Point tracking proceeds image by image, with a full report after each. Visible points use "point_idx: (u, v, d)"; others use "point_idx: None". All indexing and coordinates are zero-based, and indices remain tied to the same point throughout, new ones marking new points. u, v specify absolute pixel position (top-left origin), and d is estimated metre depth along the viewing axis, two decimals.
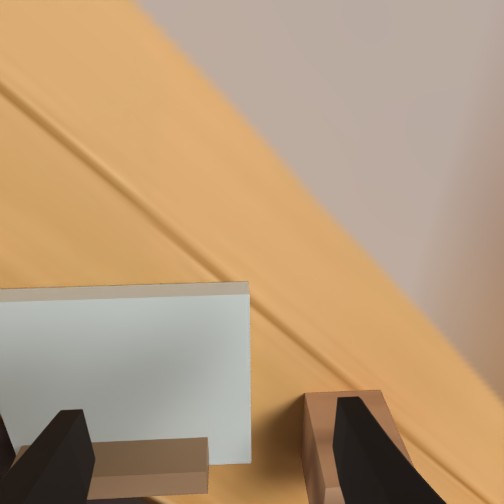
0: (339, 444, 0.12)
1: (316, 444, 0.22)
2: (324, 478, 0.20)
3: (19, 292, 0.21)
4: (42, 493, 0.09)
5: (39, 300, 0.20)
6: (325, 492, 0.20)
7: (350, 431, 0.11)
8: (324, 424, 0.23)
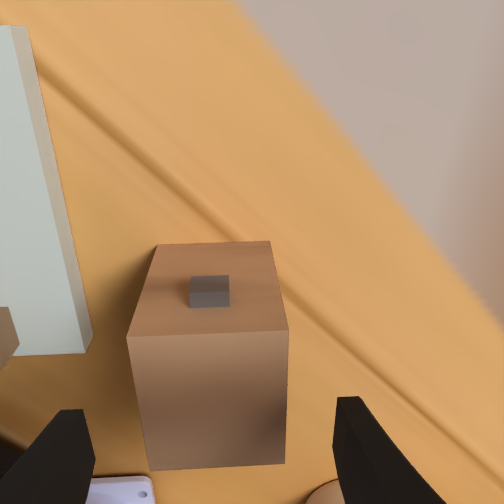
0: (339, 444, 0.12)
1: (142, 292, 0.14)
2: (131, 326, 0.12)
3: None
4: (42, 493, 0.09)
5: None
6: (128, 346, 0.12)
7: (350, 431, 0.11)
8: (167, 272, 0.15)
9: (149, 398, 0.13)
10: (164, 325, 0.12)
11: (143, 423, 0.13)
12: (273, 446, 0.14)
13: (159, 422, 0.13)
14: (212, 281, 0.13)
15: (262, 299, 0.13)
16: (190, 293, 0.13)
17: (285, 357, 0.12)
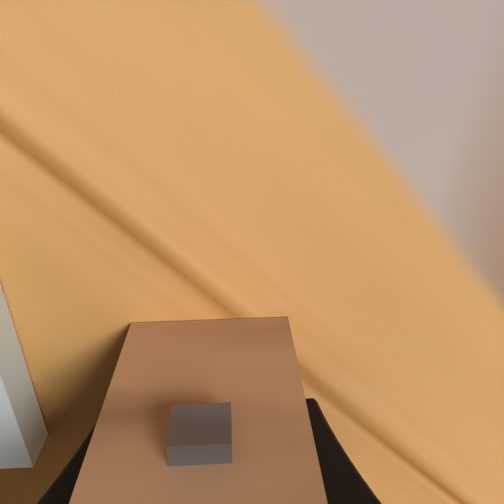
0: None
1: (98, 425, 0.09)
2: None
3: None
4: None
5: None
6: None
7: None
8: (139, 380, 0.10)
9: None
10: None
11: None
12: None
13: None
14: (204, 419, 0.08)
15: (284, 445, 0.09)
16: (168, 447, 0.08)
17: None
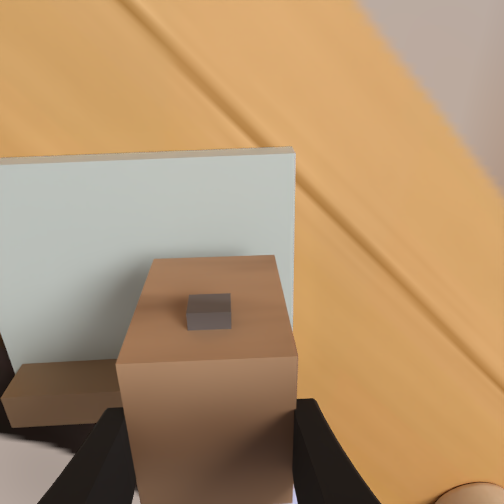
0: (293, 446, 0.12)
1: (135, 312, 0.13)
2: (122, 351, 0.11)
3: (15, 159, 0.17)
4: (100, 490, 0.10)
5: (39, 163, 0.16)
6: (117, 375, 0.11)
7: (299, 434, 0.11)
8: (162, 289, 0.14)
9: (141, 432, 0.11)
10: (158, 350, 0.11)
11: (134, 459, 0.12)
12: (279, 484, 0.13)
13: (153, 458, 0.12)
14: (212, 301, 0.12)
15: (268, 320, 0.12)
16: (188, 314, 0.12)
17: (293, 386, 0.11)
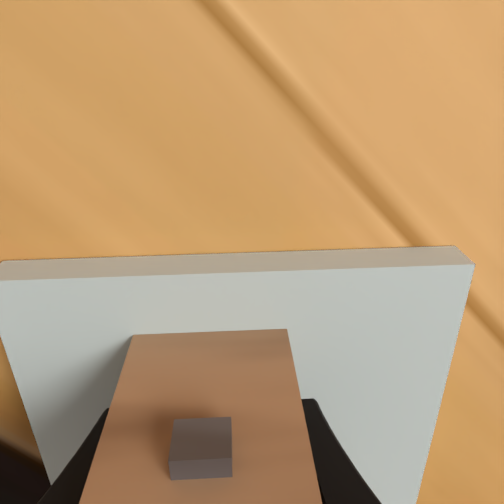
0: None
1: (102, 438, 0.09)
2: None
3: (82, 263, 0.12)
4: None
5: (119, 276, 0.12)
6: None
7: None
8: (141, 393, 0.10)
9: None
10: None
11: None
12: None
13: None
14: (205, 433, 0.09)
15: (283, 459, 0.09)
16: (170, 462, 0.08)
17: None
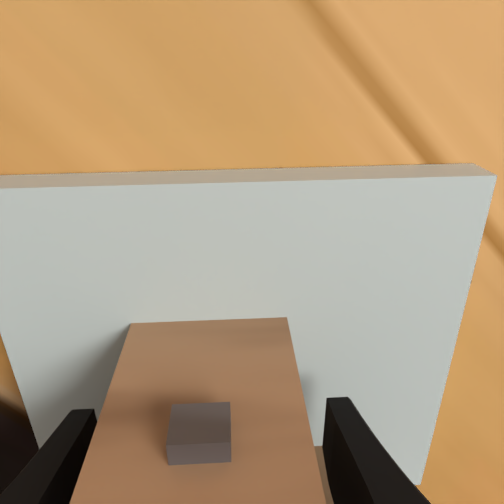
0: (328, 445, 0.12)
1: (98, 424, 0.09)
2: None
3: (64, 177, 0.11)
4: (56, 492, 0.10)
5: (104, 185, 0.11)
6: None
7: (338, 432, 0.11)
8: (139, 380, 0.10)
9: None
10: None
11: None
12: None
13: None
14: (204, 418, 0.09)
15: (282, 444, 0.09)
16: (168, 446, 0.08)
17: None
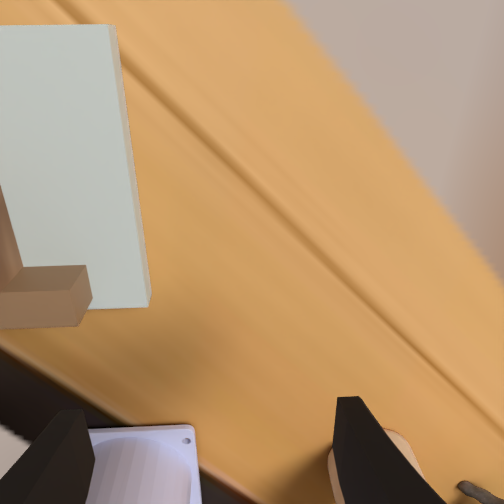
0: (339, 444, 0.12)
1: None
2: None
3: None
4: (42, 493, 0.09)
5: None
6: None
7: (350, 431, 0.11)
8: None
9: None
10: None
11: None
12: None
13: None
14: None
15: None
16: None
17: None
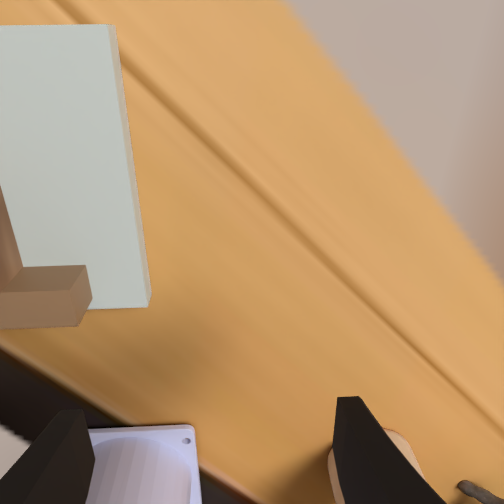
0: (339, 444, 0.12)
1: None
2: None
3: None
4: (42, 493, 0.09)
5: None
6: None
7: (350, 431, 0.11)
8: None
9: None
10: None
11: None
12: None
13: None
14: None
15: None
16: None
17: None
